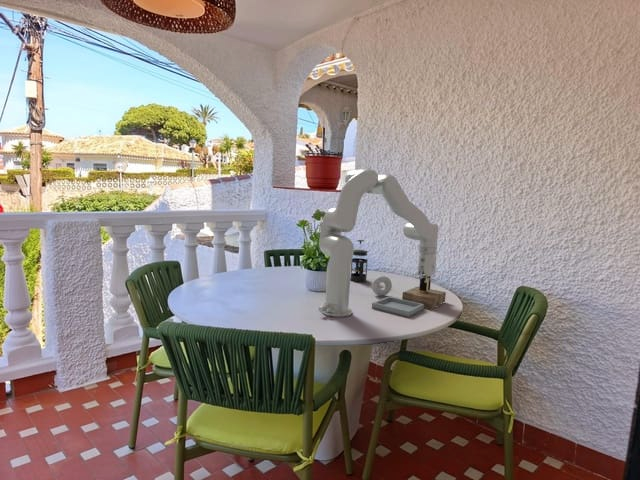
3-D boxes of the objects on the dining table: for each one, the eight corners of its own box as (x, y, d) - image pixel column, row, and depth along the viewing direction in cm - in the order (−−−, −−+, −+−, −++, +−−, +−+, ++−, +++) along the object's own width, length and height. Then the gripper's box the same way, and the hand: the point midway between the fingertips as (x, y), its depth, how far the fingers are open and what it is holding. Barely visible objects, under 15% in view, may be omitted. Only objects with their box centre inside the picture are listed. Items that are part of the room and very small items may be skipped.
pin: (425, 304, 175) (427, 278, 174) (419, 302, 177) (421, 277, 176) (428, 302, 178) (430, 277, 176) (421, 301, 180) (423, 276, 178)
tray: (408, 317, 155) (408, 311, 154) (371, 308, 165) (372, 302, 165) (423, 309, 166) (424, 304, 166) (388, 301, 177) (388, 296, 177)
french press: (348, 278, 222) (350, 238, 219) (364, 278, 223) (366, 239, 220) (352, 283, 210) (354, 241, 207) (369, 283, 211) (371, 241, 209)
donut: (372, 296, 184) (373, 276, 183) (370, 294, 187) (371, 274, 186) (392, 296, 186) (393, 276, 184) (389, 294, 189) (391, 274, 188)
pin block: (431, 309, 167) (432, 298, 166) (401, 303, 175) (402, 292, 175) (444, 302, 179) (445, 292, 179) (416, 296, 188) (417, 286, 187)
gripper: (428, 253, 166) (425, 294, 168) (442, 249, 179) (439, 288, 181) (412, 251, 170) (409, 291, 173) (427, 247, 183) (424, 285, 185)
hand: (424, 289), depth 177 cm, fingers open, 3 cm apart
